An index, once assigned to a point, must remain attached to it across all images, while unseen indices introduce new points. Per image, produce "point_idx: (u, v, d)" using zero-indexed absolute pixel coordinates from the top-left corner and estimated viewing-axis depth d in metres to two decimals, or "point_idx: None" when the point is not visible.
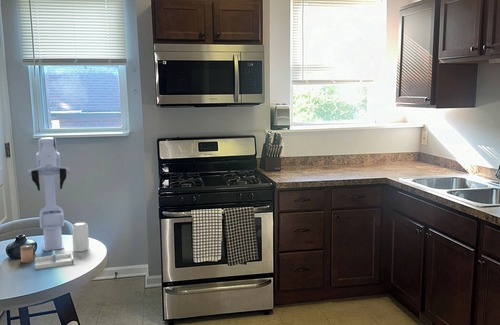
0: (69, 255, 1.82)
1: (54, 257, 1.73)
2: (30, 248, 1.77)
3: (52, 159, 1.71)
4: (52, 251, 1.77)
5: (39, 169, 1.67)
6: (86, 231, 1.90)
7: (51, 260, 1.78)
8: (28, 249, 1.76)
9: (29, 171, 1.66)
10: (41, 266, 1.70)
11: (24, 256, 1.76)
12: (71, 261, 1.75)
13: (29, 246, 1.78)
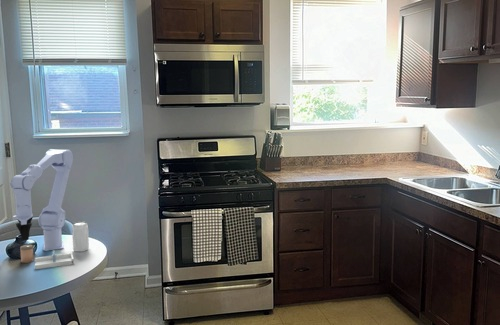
0: (69, 255, 1.82)
1: (54, 257, 1.73)
2: (30, 248, 1.77)
3: (16, 209, 1.73)
4: (52, 251, 1.77)
5: None
6: (86, 231, 1.90)
7: (51, 260, 1.78)
8: (28, 249, 1.76)
9: None
10: (41, 266, 1.70)
11: (24, 256, 1.76)
12: (71, 261, 1.75)
13: (29, 246, 1.78)
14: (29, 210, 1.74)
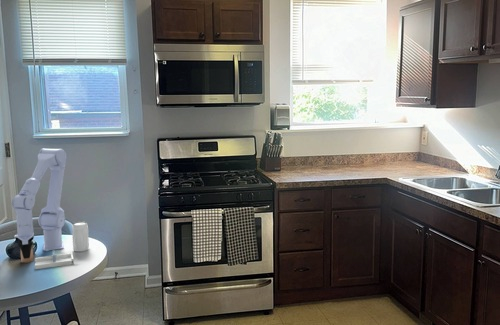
0: (69, 255, 1.82)
1: (54, 257, 1.73)
2: None
3: (18, 228, 1.74)
4: (52, 251, 1.77)
5: None
6: (86, 231, 1.90)
7: (51, 260, 1.78)
8: None
9: None
10: (41, 266, 1.70)
11: None
12: (71, 261, 1.75)
13: None
14: (30, 229, 1.76)
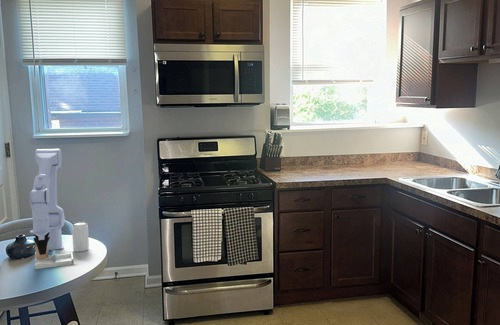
0: (69, 255, 1.82)
1: (54, 257, 1.73)
2: None
3: (34, 223, 1.70)
4: (52, 251, 1.77)
5: None
6: (86, 231, 1.90)
7: (51, 260, 1.78)
8: None
9: None
10: (41, 266, 1.70)
11: None
12: (71, 261, 1.75)
13: None
14: (46, 225, 1.71)
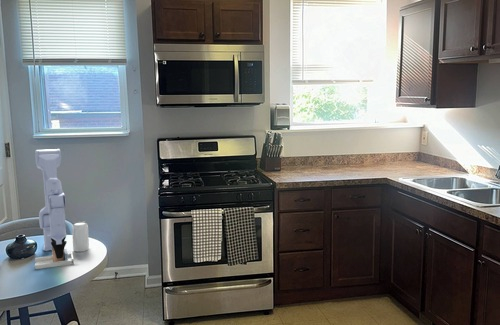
0: (69, 255, 1.82)
1: (66, 255, 1.75)
2: None
3: (51, 228, 1.73)
4: (64, 249, 1.79)
5: None
6: (86, 231, 1.90)
7: (51, 260, 1.78)
8: None
9: None
10: (41, 266, 1.70)
11: None
12: (71, 261, 1.75)
13: None
14: (63, 229, 1.74)
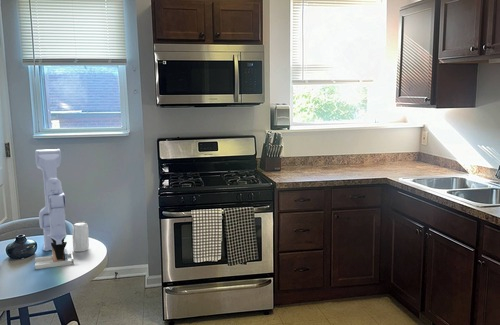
0: (69, 255, 1.82)
1: (66, 255, 1.75)
2: None
3: (51, 228, 1.73)
4: (64, 249, 1.79)
5: None
6: (86, 231, 1.90)
7: (51, 260, 1.78)
8: None
9: None
10: (41, 266, 1.70)
11: None
12: (71, 261, 1.75)
13: None
14: (63, 229, 1.74)
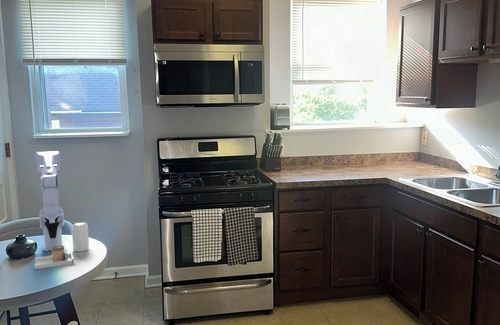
0: (69, 255, 1.82)
1: (66, 255, 1.75)
2: (62, 249, 1.75)
3: (44, 207, 1.77)
4: (64, 249, 1.79)
5: None
6: (86, 231, 1.90)
7: (51, 260, 1.78)
8: (60, 250, 1.75)
9: None
10: (41, 266, 1.70)
11: (56, 257, 1.74)
12: (71, 261, 1.75)
13: (61, 247, 1.76)
14: (56, 209, 1.79)
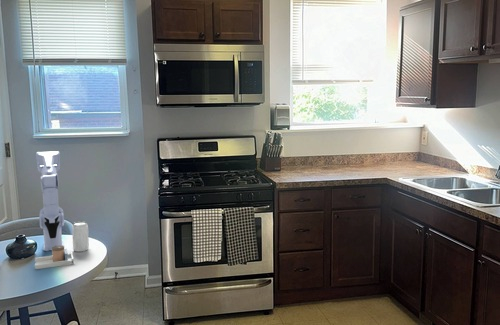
0: (69, 255, 1.82)
1: (66, 255, 1.75)
2: (62, 249, 1.75)
3: (44, 207, 1.77)
4: (64, 249, 1.79)
5: None
6: (86, 231, 1.90)
7: (51, 260, 1.78)
8: (60, 250, 1.75)
9: None
10: (41, 266, 1.70)
11: (56, 257, 1.74)
12: (71, 261, 1.75)
13: (61, 247, 1.76)
14: (56, 209, 1.79)
